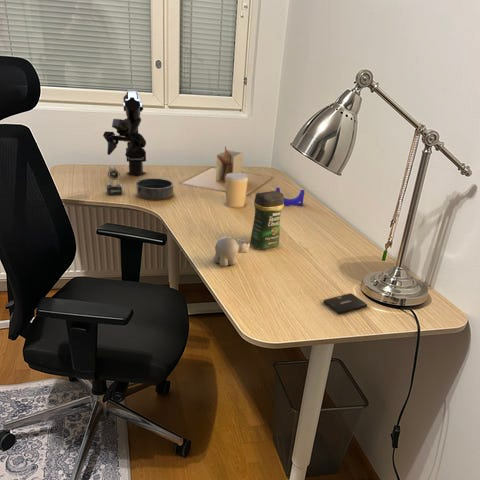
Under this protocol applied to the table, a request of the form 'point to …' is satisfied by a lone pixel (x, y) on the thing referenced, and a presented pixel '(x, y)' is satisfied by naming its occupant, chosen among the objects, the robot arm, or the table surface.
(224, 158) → the bookend
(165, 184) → the bowl
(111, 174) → the watch
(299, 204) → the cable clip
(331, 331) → the table surface
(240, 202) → the coffee cup
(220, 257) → the chubby cartoon animal
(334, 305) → the solid state drive
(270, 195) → the coffee jar
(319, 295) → the table surface
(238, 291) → the table surface
